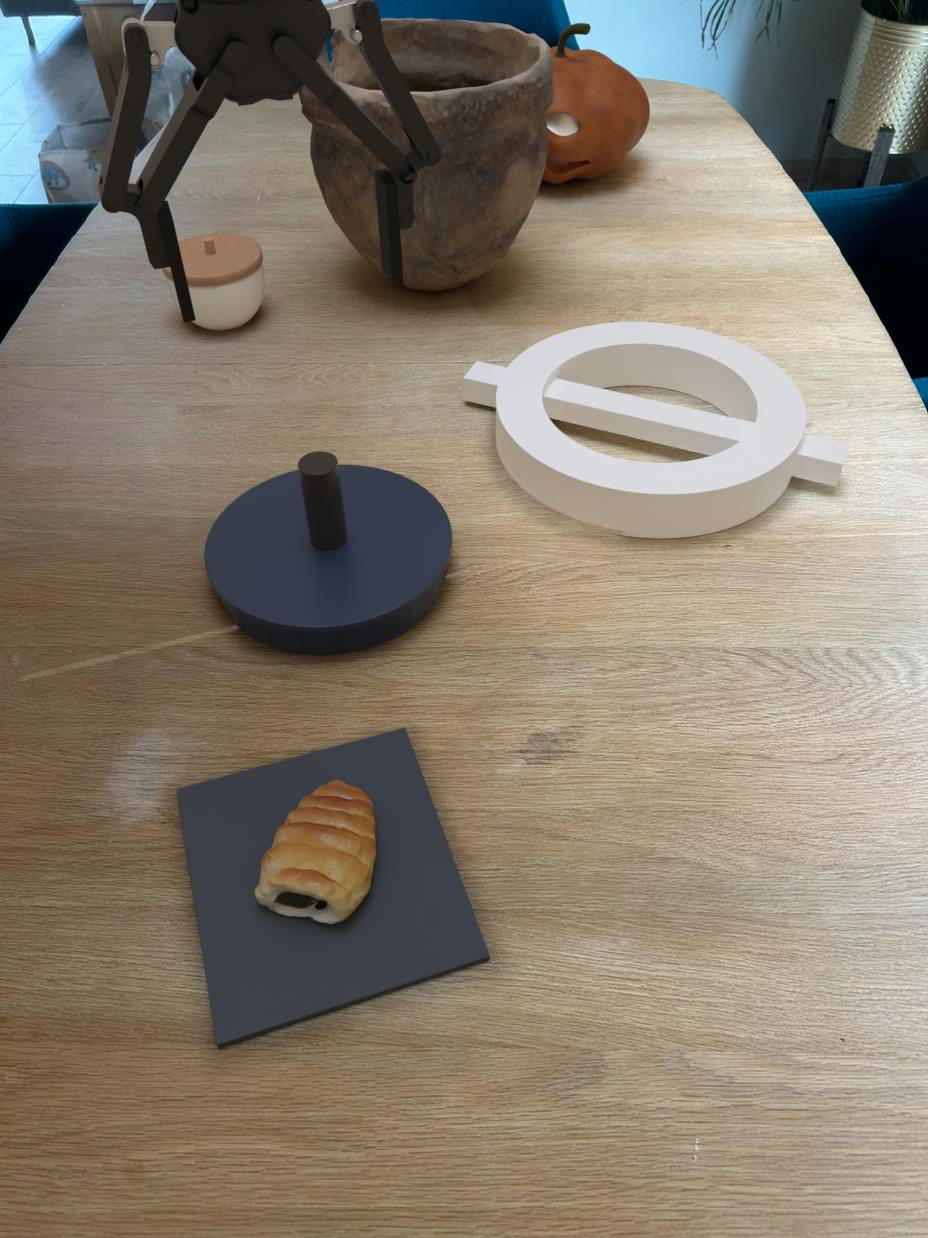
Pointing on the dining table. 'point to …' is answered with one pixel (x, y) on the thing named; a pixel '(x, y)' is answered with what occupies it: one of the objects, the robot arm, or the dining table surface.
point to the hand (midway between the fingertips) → (292, 294)
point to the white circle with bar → (652, 428)
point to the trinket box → (221, 278)
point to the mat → (300, 946)
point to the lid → (328, 547)
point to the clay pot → (441, 143)
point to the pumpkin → (591, 112)
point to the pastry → (321, 856)
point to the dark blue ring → (339, 639)
